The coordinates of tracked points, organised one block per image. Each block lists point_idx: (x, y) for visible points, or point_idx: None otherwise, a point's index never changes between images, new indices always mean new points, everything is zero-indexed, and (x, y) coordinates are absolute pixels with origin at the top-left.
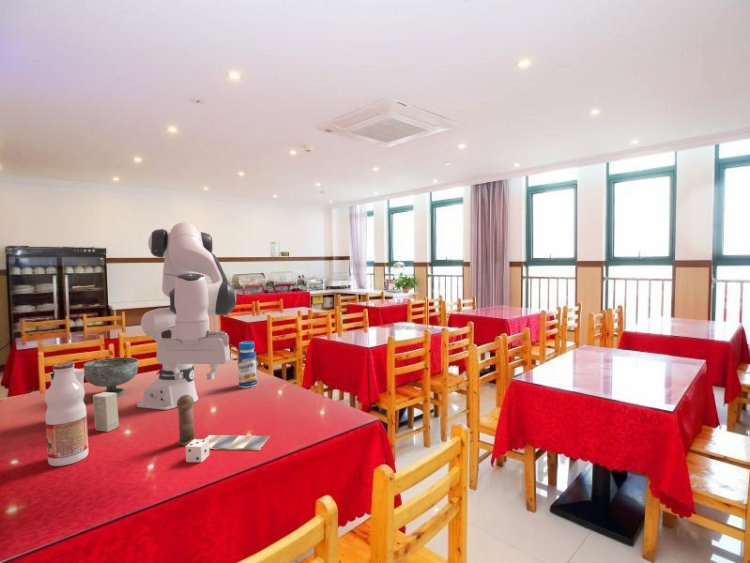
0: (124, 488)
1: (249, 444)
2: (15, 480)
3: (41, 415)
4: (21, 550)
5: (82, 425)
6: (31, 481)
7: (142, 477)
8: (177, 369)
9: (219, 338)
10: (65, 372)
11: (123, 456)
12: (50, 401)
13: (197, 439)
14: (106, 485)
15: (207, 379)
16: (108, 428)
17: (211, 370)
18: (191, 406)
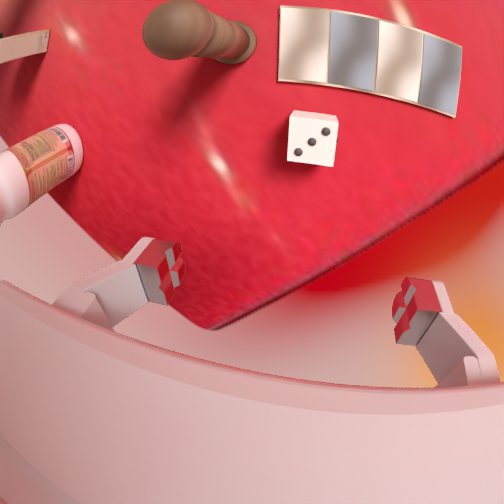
0: (224, 237)
1: (427, 84)
2: (67, 207)
3: None
4: (205, 325)
5: (37, 172)
6: (83, 209)
7: (231, 206)
8: (117, 291)
9: None
10: None
11: (133, 126)
12: None
13: (301, 118)
14: (187, 226)
15: (394, 301)
16: (42, 51)
17: (434, 371)
18: (213, 31)
